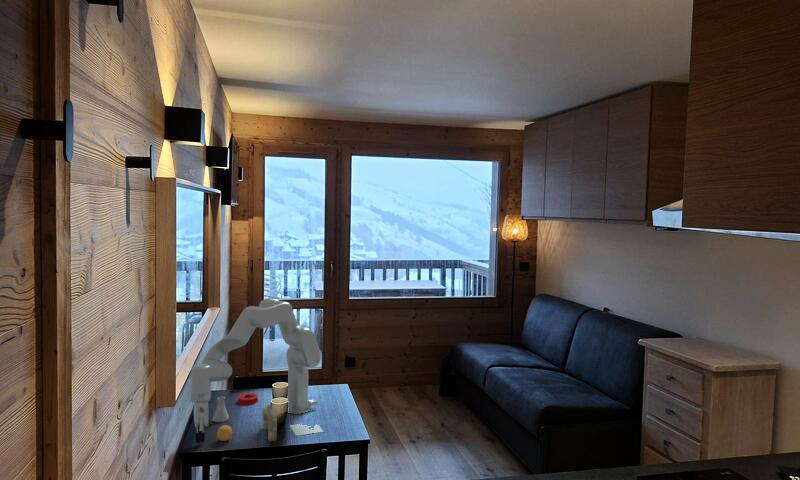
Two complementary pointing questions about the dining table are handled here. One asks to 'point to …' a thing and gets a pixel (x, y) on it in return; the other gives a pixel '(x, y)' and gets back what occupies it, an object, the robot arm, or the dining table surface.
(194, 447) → the dining table surface
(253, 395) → the decorative ornament
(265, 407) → the bridge
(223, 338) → the robot arm
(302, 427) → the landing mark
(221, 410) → the flask
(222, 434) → the ball
